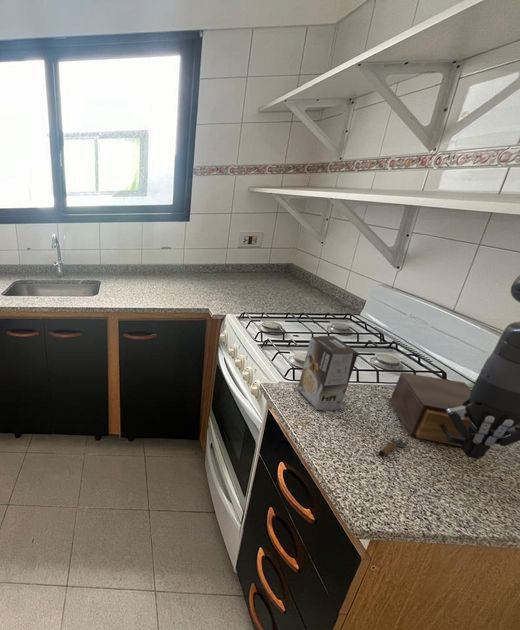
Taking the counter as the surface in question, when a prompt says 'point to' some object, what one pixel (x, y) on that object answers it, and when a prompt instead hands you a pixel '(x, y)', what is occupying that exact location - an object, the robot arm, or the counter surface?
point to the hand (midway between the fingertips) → (470, 455)
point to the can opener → (392, 446)
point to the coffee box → (326, 372)
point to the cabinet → (425, 397)
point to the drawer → (440, 428)
